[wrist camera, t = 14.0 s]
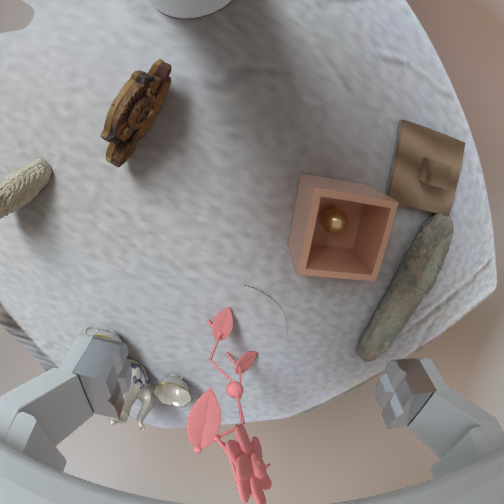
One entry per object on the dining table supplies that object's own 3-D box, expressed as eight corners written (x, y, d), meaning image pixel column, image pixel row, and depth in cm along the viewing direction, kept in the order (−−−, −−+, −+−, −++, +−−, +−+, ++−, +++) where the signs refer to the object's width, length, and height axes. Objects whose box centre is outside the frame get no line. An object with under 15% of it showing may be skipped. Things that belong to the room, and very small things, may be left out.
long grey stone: (341, 347, 62) (376, 350, 63) (348, 364, 57) (383, 367, 59) (422, 201, 46) (455, 218, 48) (438, 213, 41) (471, 230, 43)
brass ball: (322, 203, 45) (328, 210, 42) (345, 206, 46) (353, 214, 42) (317, 227, 47) (323, 236, 43) (340, 230, 47) (347, 239, 44)
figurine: (238, 379, 63) (241, 528, 31) (184, 287, 52) (138, 473, 20) (304, 360, 61) (340, 511, 29) (266, 258, 51) (302, 454, 19)
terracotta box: (300, 173, 44) (314, 187, 35) (370, 185, 45) (398, 202, 36) (287, 244, 49) (297, 274, 40) (354, 252, 50) (375, 281, 41)
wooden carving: (140, 167, 43) (115, 180, 34) (116, 156, 42) (86, 167, 33) (184, 70, 37) (168, 58, 28) (158, 61, 36) (136, 47, 27)
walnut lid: (400, 119, 40) (414, 120, 36) (461, 142, 41) (477, 145, 37) (385, 201, 46) (397, 209, 42) (445, 214, 47) (459, 222, 43)
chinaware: (207, 373, 64) (205, 430, 49) (170, 407, 68) (163, 459, 52) (100, 306, 56) (69, 355, 41) (75, 351, 60) (48, 398, 44)
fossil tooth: (60, 177, 44) (13, 217, 45) (45, 149, 42) (0, 192, 43) (27, 194, 34) (-18, 240, 35) (10, 159, 31) (-34, 210, 32)
